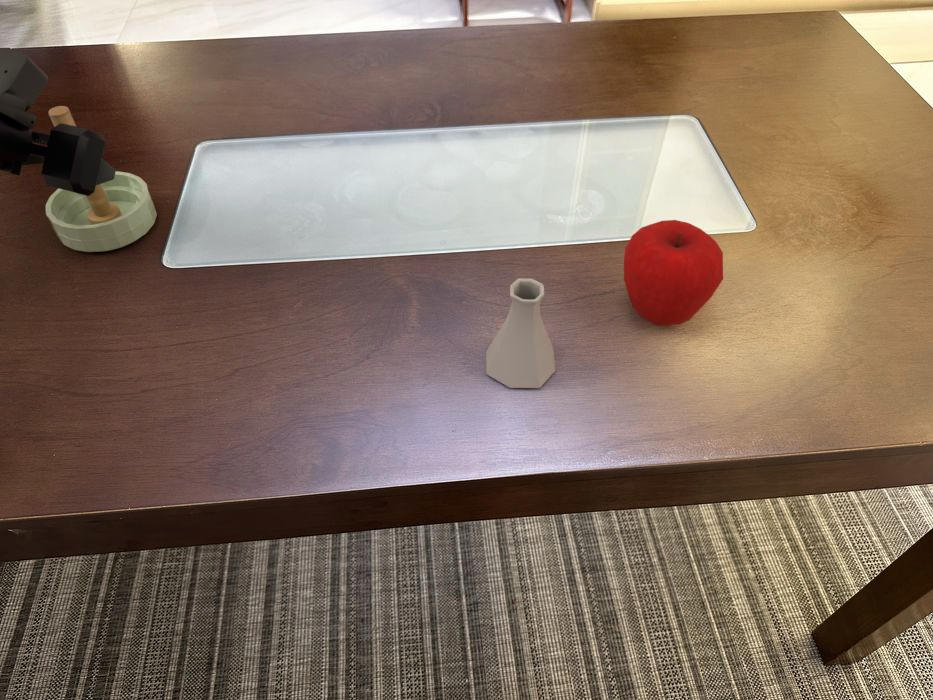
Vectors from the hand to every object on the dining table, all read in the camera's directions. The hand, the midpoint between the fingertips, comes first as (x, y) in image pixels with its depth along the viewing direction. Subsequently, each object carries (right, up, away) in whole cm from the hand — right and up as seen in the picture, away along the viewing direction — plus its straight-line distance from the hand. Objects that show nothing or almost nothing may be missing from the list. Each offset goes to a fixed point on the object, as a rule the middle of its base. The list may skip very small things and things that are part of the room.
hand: (79, 166), depth 80 cm
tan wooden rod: (0, -5, +6) cm, 8 cm away
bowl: (0, -6, +7) cm, 9 cm away
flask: (+49, -22, -8) cm, 54 cm away
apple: (+64, -17, -3) cm, 66 cm away
